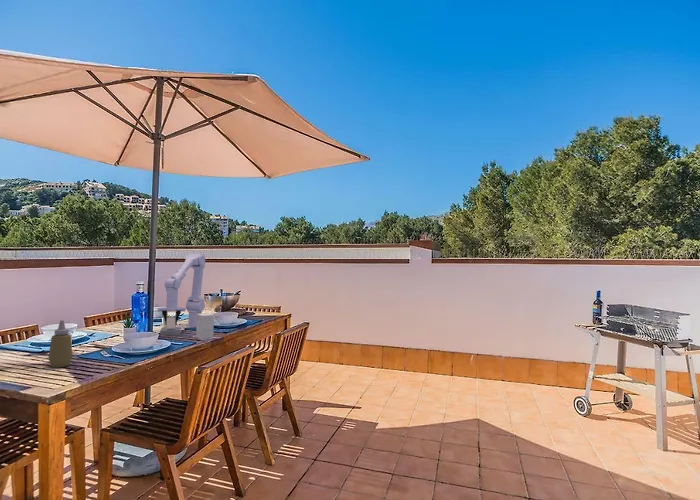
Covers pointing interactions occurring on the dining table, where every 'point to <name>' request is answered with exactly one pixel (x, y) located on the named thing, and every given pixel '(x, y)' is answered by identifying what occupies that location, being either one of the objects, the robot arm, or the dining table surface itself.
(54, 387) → the dining table surface
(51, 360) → the squeeze bottle
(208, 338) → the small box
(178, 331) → the slate base
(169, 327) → the cream block
